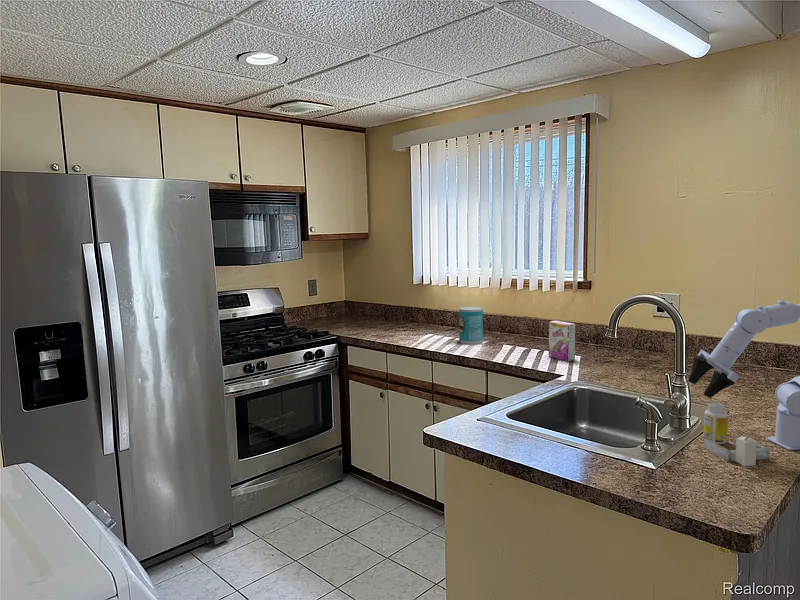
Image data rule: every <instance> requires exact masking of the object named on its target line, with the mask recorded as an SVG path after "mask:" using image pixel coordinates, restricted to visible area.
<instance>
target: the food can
mask: <svg viewBox="0 0 800 600" xmlns="http://www.w3.org/2000/svg"><path fill="white" fill-rule="evenodd" d="M458 311H459V312H458V313H459V316H458V319H459V321H458V322H459V323H458V324H459V326H458V327H459V331H458V333H459V343H460V344H462V345H469V346H472V345H473V346H475V345H481V344H483V341H484V320H483V319H484V317H483V316H484V310H483V307H481V306H473V305H472V306H461V307H459V310H458Z"/></svg>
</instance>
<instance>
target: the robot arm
mask: <svg viewBox="0 0 800 600" xmlns="http://www.w3.org/2000/svg"><path fill="white" fill-rule="evenodd" d="M776 302H777V303H774V304H771V305H766V306H765V305H764V306H762V305H757V306H756V309H753V308H745V309H742V310H741V311H739V312H737V313H736V315H735V316H734V317H735V318H734V320H735V322H734V323H733V324H732V325H731V327H730V328H729V329H728V330H727V332H726V333H725V334H724V336H723V337H722V339H721V340H720V341H719V342H718V344H717V345H716V346H715V348H714V349H713V351H712V352H711V353H709V352H707V351H705V350H703V349H700V351H699V352H698V353H697V356H695V355H694V357H693V361H692V362H693V363H692V368H691V372H690V373H689V376H688V380H687V382H688V383H691V384H693V385H696V384H697V383H699V381H700V380H701V379H702V377H703V376H705V374H706V373H708V372H710V370H712V369H713V368H715V369H716V370H714V371H713V375H712V378H711V380H710V382H709V384H708V385H707V387H706V389H705V390H704V392H703V395H704V396H706V397H707V398H709V399H711V398H713V397H714V396H716V395H717V394H718V393H720V392H721V391H722V390H725V389H726V388H729V387H731V386H734V385H735V382H736V381H737V379H738V378H739V377H740V375H738V374H737V373H736V372H735V371H734V370H733V369H732V367H733V365H734V364H735V362H736V361H737V360H738V359H739V357H740V356H741V355H742V353H743V352H744V351H745V349H746V348H747V347H748V345H749V344H750V343H751V341H752V340H753V338H754V337H755V336H756V335H757V334H760V333H762V332H764V331H765V330H766V329H771V328H777V327H781V326H787V325H791V324H796V323H797V321H799V319H800V303H798V304H795V303H793V302H791V301H784V300H777V301H776ZM774 395H775V398H776V399H777V401H778V402H779V403H778V405H777V407H776V419H775V432H774V434H775V435H774V436H767V437H766V440H768V441H770V442H772V443H774V444H777V445H779V446H780V447H782V448H784V449H786V450H788V451H796V450H800V375H797V376H795V377H793V378H792V379H790V380H789V381H785V382H783V383H781V384H779V385H778V386H777V387H776V389H775V391H774Z"/></svg>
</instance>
